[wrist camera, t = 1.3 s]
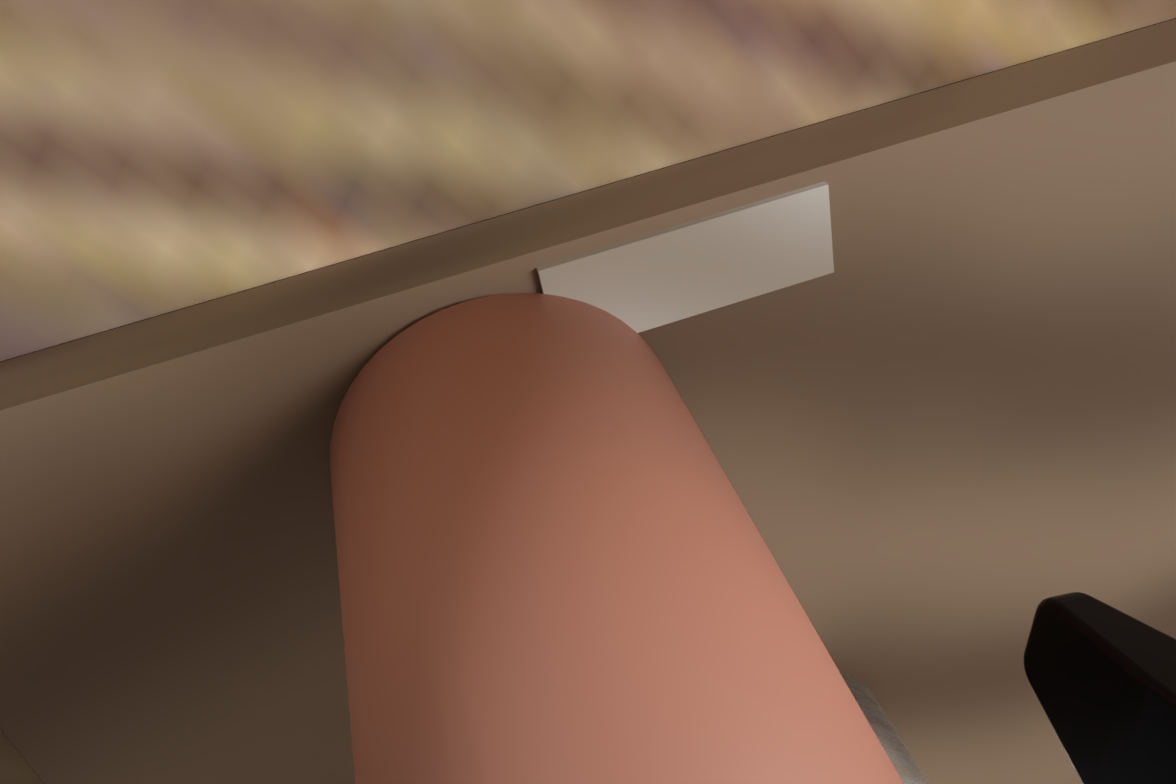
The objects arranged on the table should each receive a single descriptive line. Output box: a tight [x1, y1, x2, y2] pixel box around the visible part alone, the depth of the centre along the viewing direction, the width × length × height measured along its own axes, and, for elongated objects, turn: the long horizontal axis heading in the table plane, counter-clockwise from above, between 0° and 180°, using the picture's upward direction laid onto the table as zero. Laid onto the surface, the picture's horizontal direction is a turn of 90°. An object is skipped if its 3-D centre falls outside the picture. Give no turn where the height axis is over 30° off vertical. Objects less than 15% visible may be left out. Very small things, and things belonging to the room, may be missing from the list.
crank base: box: [0, 19, 1176, 784], centre depth 18 cm, size 20×20×1 cm
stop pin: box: [330, 293, 904, 784], centre depth 10 cm, size 4×4×8 cm
